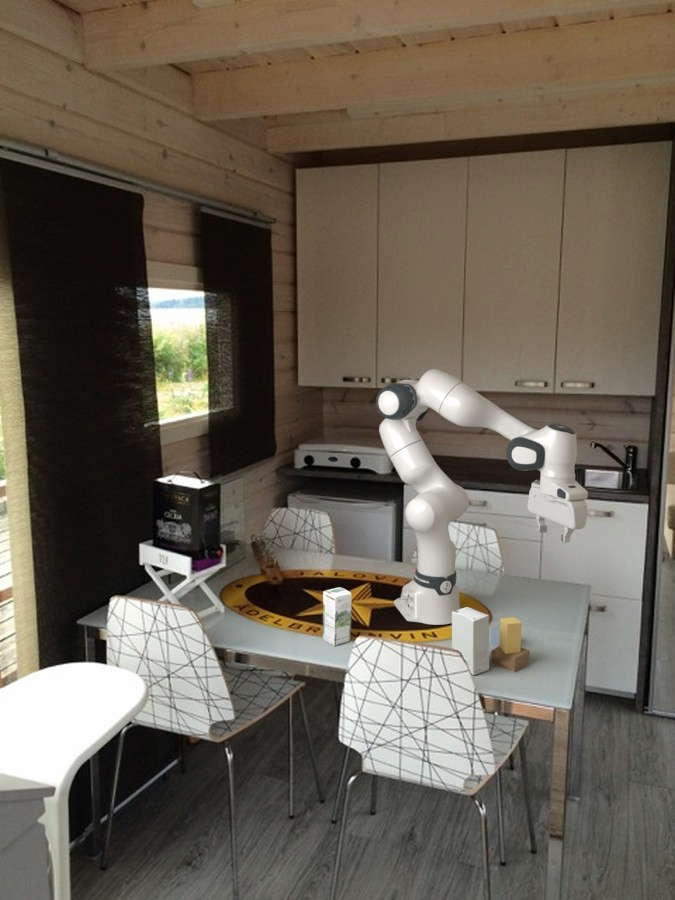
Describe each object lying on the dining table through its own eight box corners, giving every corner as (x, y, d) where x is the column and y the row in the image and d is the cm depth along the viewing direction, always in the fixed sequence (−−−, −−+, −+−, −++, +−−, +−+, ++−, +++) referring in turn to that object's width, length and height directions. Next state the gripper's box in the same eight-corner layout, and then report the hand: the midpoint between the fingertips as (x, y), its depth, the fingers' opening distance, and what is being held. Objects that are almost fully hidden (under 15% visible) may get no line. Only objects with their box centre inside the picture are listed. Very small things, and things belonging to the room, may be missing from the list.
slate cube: (490, 645, 221) (490, 628, 220) (501, 640, 224) (501, 623, 223) (505, 651, 217) (506, 633, 216) (516, 645, 220) (517, 628, 219)
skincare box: (489, 670, 205) (491, 615, 202) (472, 676, 202) (474, 620, 199) (466, 658, 212) (468, 605, 209) (449, 664, 209) (451, 610, 206)
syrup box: (338, 634, 226) (339, 585, 224) (351, 642, 222) (352, 592, 219) (322, 639, 223) (322, 590, 220) (334, 647, 218) (335, 596, 216)
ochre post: (499, 647, 210) (500, 618, 209) (513, 646, 211) (514, 617, 210) (506, 653, 206) (507, 624, 205) (520, 652, 207) (521, 622, 206)
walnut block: (490, 664, 209) (491, 650, 209) (505, 656, 214) (506, 642, 213) (514, 673, 204) (514, 658, 204) (528, 664, 209) (529, 650, 209)
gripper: (523, 478, 220) (520, 527, 223) (572, 495, 202) (569, 548, 204) (542, 477, 222) (539, 525, 225) (592, 493, 204) (588, 546, 207)
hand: (553, 536), depth 214 cm, fingers open, 8 cm apart
